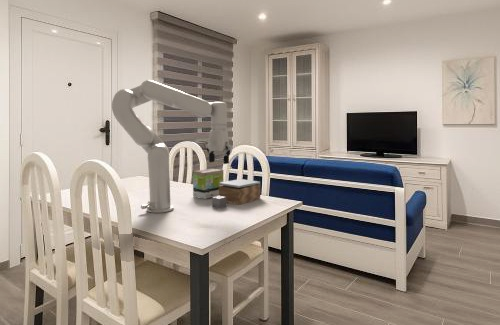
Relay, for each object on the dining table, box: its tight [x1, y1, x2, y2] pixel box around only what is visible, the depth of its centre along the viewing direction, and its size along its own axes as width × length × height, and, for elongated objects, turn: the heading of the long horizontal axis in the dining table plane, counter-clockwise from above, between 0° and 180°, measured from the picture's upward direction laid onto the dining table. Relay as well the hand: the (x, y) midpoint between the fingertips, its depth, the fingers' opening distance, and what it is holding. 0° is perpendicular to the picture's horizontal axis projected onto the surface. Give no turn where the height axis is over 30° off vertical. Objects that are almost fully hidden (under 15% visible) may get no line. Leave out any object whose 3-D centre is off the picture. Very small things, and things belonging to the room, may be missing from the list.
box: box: [219, 183, 261, 205], centre depth 188 cm, size 18×14×8 cm
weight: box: [211, 196, 227, 209], centre depth 173 cm, size 5×5×5 cm
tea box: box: [192, 168, 224, 200], centre depth 197 cm, size 15×10×15 cm, turn 143°
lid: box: [219, 178, 261, 188], centre depth 187 cm, size 18×14×1 cm
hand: (218, 162), depth 171 cm, fingers open, 9 cm apart
